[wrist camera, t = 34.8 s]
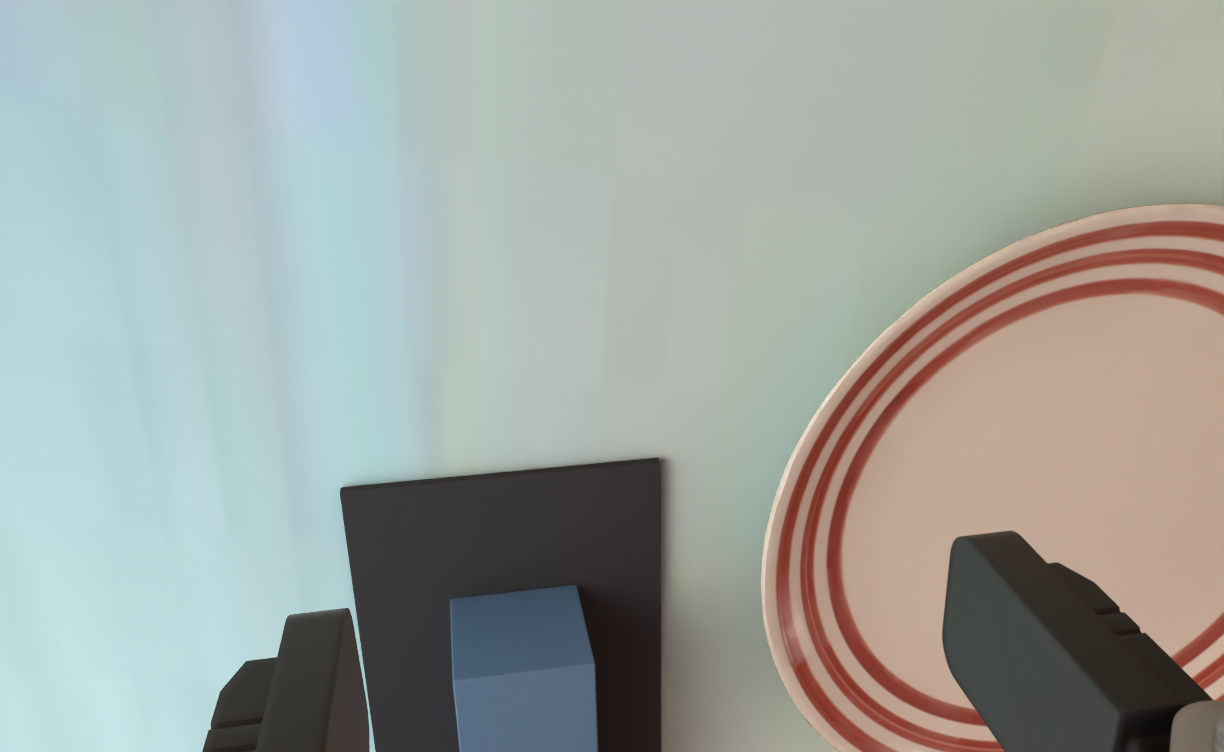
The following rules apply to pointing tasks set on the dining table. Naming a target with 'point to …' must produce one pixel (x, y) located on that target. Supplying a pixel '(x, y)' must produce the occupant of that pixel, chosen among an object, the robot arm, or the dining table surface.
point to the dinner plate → (1009, 470)
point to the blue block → (523, 672)
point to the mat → (506, 586)
